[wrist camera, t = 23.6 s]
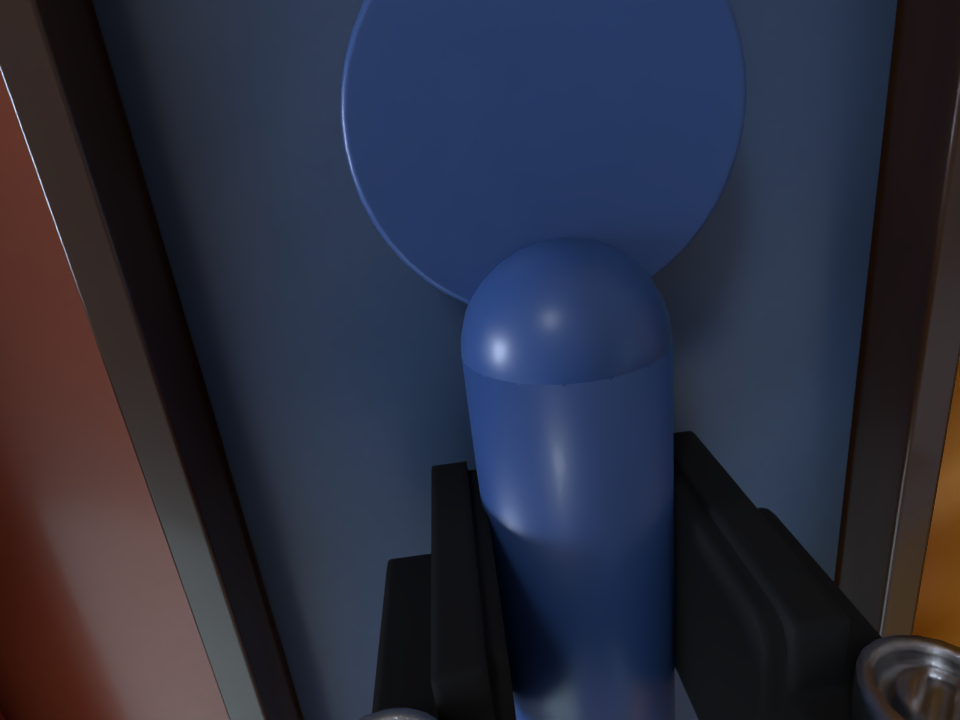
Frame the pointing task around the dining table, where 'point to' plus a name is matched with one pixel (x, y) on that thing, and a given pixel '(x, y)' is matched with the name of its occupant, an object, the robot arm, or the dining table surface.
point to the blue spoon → (557, 291)
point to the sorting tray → (407, 342)
